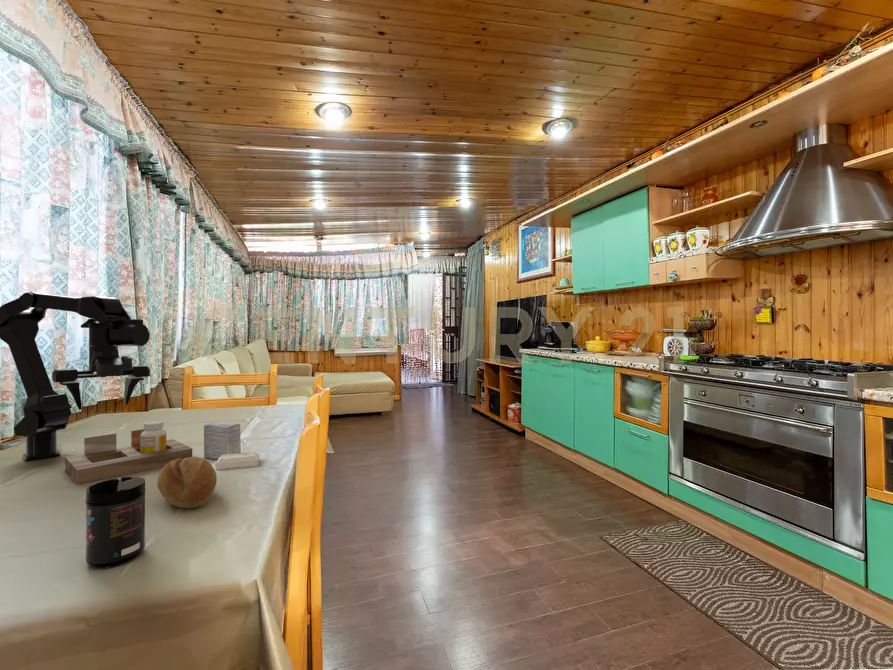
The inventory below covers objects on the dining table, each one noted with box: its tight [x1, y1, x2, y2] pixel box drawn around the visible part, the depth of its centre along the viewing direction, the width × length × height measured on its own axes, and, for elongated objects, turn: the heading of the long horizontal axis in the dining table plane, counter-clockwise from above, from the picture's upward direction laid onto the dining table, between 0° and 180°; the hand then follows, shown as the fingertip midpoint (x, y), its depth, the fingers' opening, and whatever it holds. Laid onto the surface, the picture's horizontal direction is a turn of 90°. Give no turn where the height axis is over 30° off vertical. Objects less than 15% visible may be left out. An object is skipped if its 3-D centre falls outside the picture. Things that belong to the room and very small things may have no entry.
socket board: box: [64, 428, 193, 485], centre depth 102 cm, size 14×22×7 cm, turn 140°
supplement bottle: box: [140, 420, 167, 454], centre depth 105 cm, size 5×5×10 cm
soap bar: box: [215, 451, 260, 471], centre depth 102 cm, size 5×9×3 cm, turn 110°
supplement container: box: [85, 476, 146, 569], centre depth 60 cm, size 7×7×10 cm
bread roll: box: [156, 456, 218, 509], centre depth 81 cm, size 10×15×8 cm, turn 40°
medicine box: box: [203, 421, 242, 460], centre depth 108 cm, size 8×4×9 cm, turn 71°
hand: (103, 407), depth 107 cm, fingers open, 9 cm apart
